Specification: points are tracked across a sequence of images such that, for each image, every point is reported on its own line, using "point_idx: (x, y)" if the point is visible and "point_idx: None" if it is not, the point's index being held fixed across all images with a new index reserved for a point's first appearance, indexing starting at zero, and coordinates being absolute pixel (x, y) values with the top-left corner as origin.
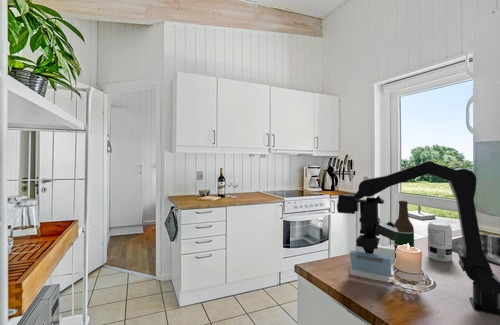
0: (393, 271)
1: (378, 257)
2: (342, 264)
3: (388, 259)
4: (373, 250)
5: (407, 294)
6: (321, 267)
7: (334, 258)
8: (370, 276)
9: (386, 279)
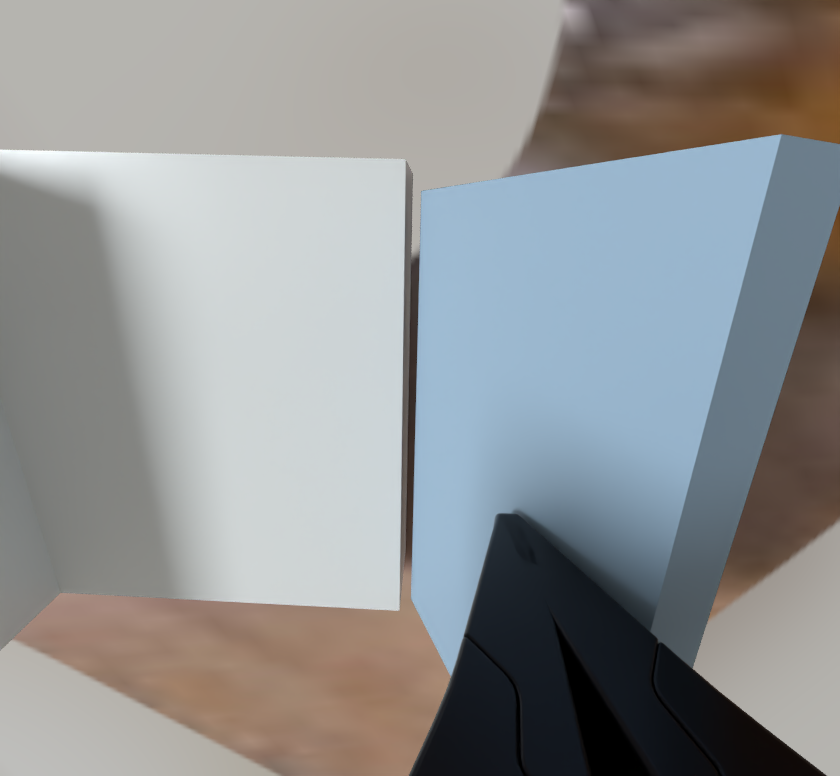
0: (286, 163)
1: (752, 463)
2: (225, 624)
3: (816, 209)
4: (707, 683)
5: (631, 20)
6: (381, 734)
7: (136, 687)
8: (406, 406)
9: (410, 251)
